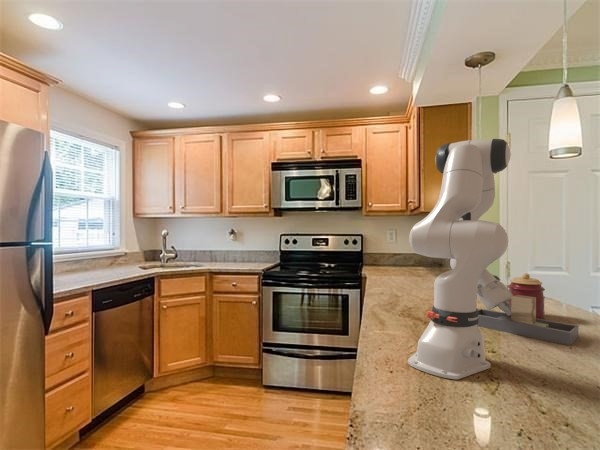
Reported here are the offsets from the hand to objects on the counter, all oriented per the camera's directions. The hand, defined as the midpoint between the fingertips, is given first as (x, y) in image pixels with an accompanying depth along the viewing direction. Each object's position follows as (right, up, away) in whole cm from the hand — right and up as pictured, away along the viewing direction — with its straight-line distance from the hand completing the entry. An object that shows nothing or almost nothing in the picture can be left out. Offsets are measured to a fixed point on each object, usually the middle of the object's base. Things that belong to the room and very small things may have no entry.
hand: (511, 314), depth 127 cm
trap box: (+2, -5, -2) cm, 6 cm away
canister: (+17, -6, +18) cm, 25 cm away
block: (+2, -2, -3) cm, 4 cm away
